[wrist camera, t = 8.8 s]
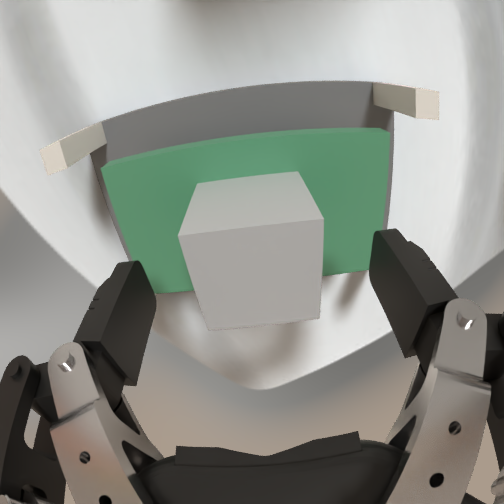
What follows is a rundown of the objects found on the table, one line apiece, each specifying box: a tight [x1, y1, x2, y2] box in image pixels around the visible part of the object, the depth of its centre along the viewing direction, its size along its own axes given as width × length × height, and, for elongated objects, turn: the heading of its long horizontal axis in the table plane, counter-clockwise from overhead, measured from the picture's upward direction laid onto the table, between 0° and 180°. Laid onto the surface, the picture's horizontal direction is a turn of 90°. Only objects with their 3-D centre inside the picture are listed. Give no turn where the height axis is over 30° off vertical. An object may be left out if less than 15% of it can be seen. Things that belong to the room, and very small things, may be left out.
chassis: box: [40, 81, 439, 296], centre depth 13 cm, size 16×11×5 cm
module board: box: [100, 128, 390, 330], centre depth 11 cm, size 12×7×5 cm, turn 97°
